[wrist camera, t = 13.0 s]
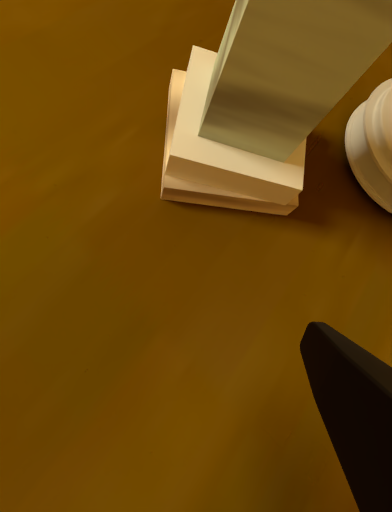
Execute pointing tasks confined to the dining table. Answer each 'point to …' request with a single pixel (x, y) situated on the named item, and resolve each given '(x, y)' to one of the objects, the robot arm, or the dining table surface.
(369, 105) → the lid
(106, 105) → the dining table surface
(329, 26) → the pillar block
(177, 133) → the tower top slab
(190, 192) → the tower base slab
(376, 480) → the robot arm
